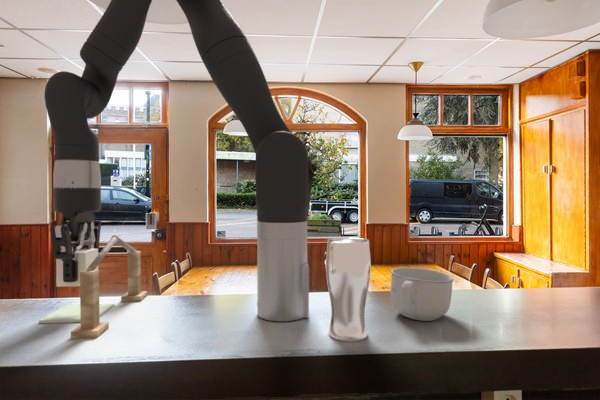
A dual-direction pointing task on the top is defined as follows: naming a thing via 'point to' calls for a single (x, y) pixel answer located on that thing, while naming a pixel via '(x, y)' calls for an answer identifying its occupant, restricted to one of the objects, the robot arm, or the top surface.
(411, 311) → the teacup
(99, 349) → the top surface
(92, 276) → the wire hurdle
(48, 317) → the mat
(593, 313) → the top surface
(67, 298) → the top surface
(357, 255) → the beer glass
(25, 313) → the top surface
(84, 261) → the cream block
